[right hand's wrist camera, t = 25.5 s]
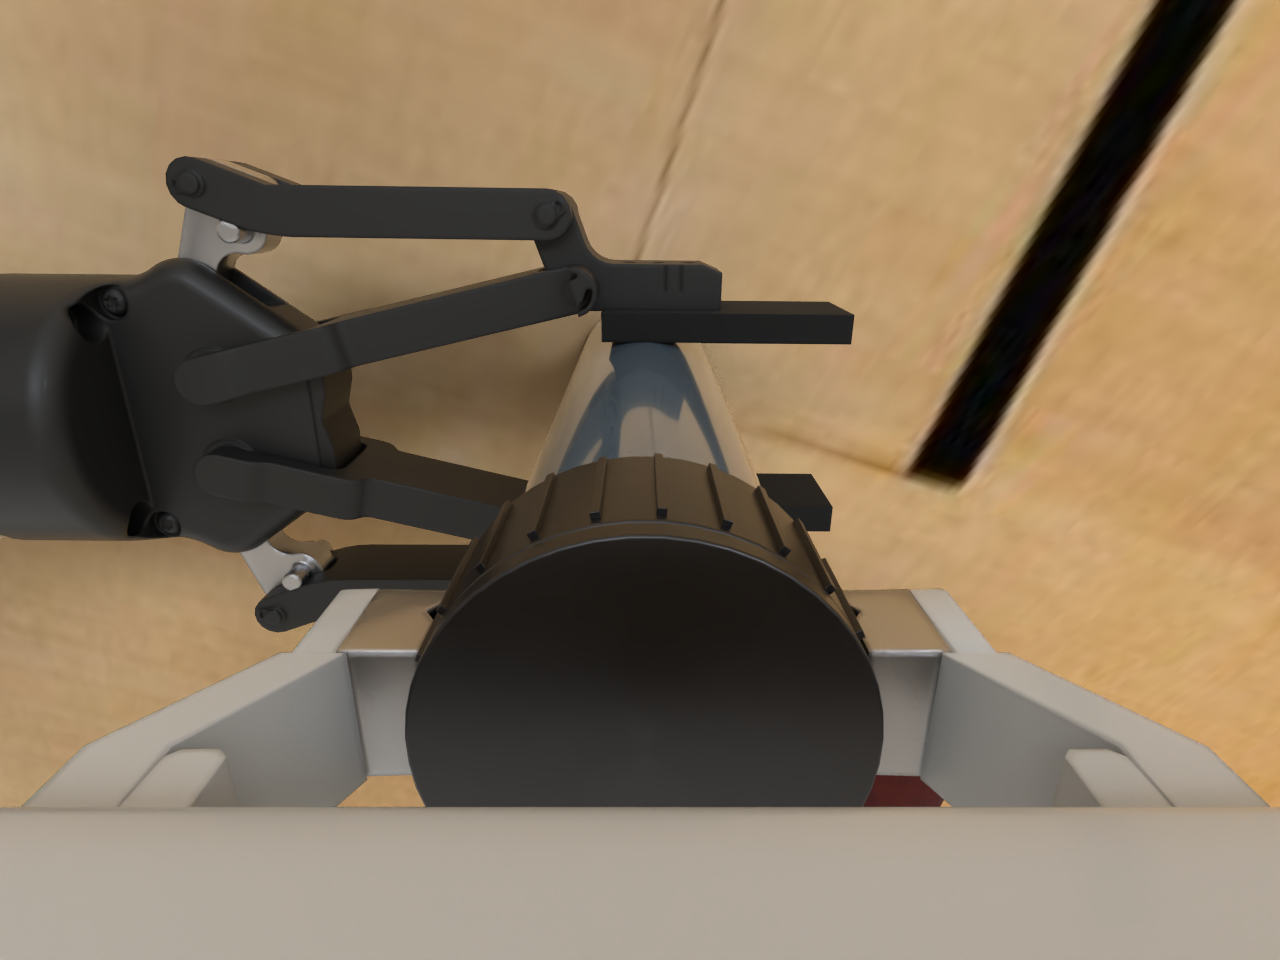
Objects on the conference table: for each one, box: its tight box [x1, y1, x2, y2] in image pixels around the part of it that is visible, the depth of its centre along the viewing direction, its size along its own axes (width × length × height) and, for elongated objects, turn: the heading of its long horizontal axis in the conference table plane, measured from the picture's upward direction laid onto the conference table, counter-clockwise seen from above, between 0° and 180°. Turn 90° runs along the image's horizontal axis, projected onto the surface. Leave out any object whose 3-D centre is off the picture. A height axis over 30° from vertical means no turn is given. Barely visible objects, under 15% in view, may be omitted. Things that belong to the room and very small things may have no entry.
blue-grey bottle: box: [523, 320, 761, 494], centre depth 18 cm, size 5×5×20 cm
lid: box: [405, 453, 884, 807], centre depth 9 cm, size 5×5×2 cm
